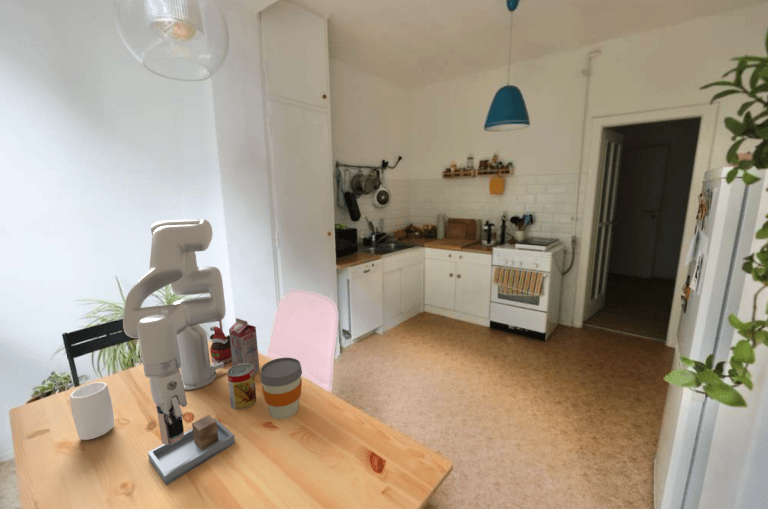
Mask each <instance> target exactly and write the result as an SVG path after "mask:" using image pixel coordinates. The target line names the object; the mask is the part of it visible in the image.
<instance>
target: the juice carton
mask: <svg viewBox="0 0 768 509" xmlns="http://www.w3.org/2000/svg"><path fill="white" fill-rule="evenodd" d="M256 328H257V327H256V326H254V325H251V324H249V323H248V321H247V320H244V319H241V318H237V317H236V318H235V322H234V324H233V325H232V326H230V327H229V329H228V332H229V333H228V335H230V343H231V353H232V360H231V361H232V367H233V366H235V365H237V364H242V363H249V364H252V365H253V369H254V376H255V375H256V374H258V373H260V372H261V368H260V360H259V359H260V357H259V347H258V340H257V338H258V336H257V329H256Z"/></svg>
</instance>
